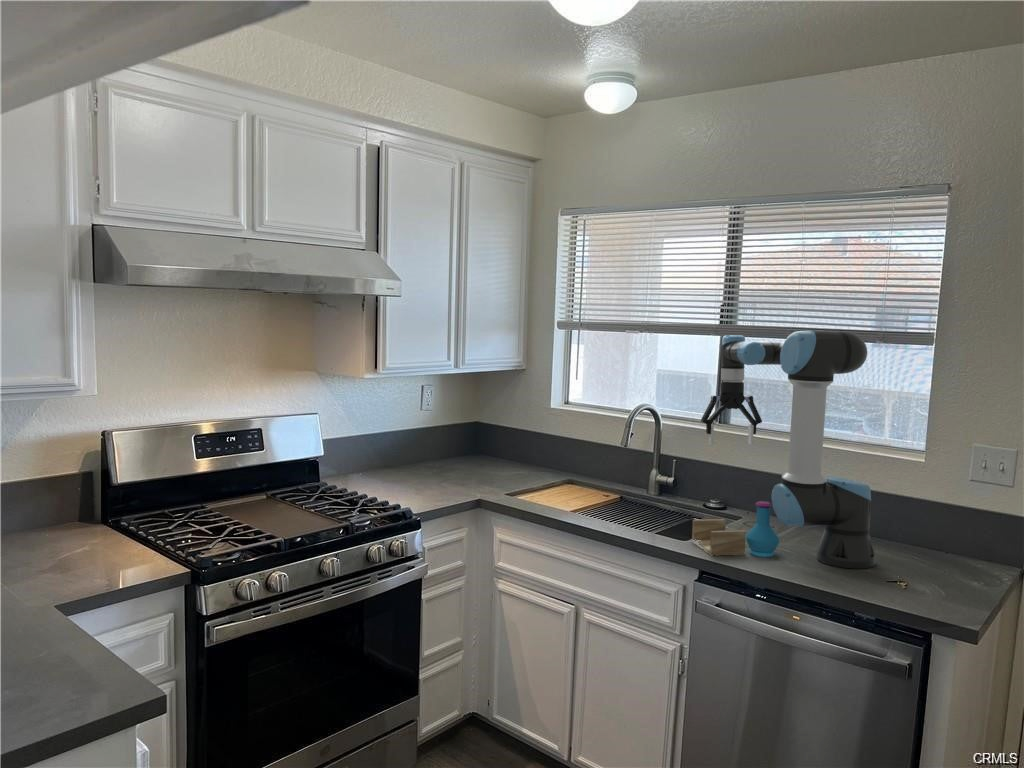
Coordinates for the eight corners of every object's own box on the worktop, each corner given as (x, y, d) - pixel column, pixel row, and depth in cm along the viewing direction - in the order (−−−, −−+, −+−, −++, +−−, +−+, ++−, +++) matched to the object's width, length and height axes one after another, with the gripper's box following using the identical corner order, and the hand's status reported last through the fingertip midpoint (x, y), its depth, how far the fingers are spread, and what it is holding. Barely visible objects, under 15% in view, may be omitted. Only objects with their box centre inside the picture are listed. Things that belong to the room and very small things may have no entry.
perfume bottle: (780, 558, 214) (782, 506, 213) (747, 556, 216) (748, 505, 215) (776, 550, 223) (777, 500, 223) (743, 548, 225) (745, 498, 224)
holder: (744, 555, 217) (745, 531, 217) (712, 556, 216) (712, 532, 216) (722, 541, 232) (723, 519, 232) (692, 542, 231) (692, 519, 230)
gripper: (764, 381, 258) (762, 442, 260) (692, 380, 257) (691, 442, 258) (773, 382, 251) (771, 445, 252) (699, 381, 250) (697, 445, 251)
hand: (730, 444), depth 255 cm, fingers open, 13 cm apart
